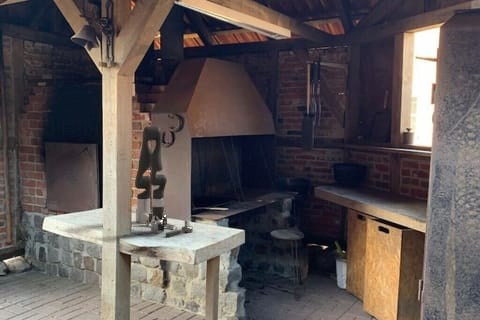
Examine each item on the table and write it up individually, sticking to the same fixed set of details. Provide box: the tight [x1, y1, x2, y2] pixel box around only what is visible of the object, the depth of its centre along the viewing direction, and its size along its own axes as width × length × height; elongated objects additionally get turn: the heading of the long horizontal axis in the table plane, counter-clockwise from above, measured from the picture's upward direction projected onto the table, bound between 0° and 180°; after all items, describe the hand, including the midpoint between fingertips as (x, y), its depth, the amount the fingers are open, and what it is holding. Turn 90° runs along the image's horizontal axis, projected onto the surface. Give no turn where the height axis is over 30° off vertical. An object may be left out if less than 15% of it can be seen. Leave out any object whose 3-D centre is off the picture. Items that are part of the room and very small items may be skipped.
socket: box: [150, 221, 165, 234], centre depth 288 cm, size 6×6×6 cm
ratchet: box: [165, 219, 194, 238], centre depth 285 cm, size 7×22×8 cm, turn 146°
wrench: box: [140, 213, 179, 231], centre depth 302 cm, size 8×2×30 cm
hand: (157, 230), depth 288 cm, fingers open, 8 cm apart
